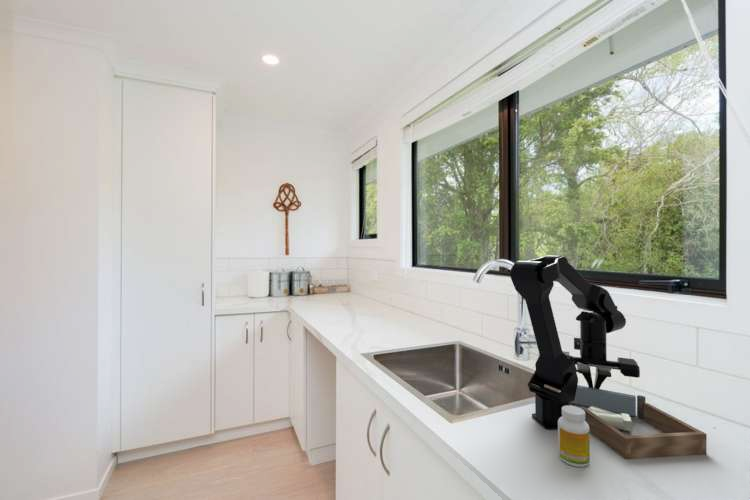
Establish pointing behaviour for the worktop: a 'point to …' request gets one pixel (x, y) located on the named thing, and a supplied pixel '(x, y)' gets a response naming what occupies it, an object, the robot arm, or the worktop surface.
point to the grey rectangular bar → (605, 400)
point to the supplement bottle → (573, 437)
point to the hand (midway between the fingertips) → (593, 395)
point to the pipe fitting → (613, 418)
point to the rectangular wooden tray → (650, 435)
